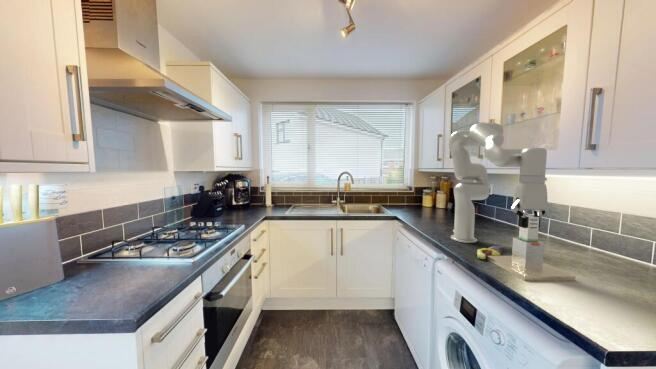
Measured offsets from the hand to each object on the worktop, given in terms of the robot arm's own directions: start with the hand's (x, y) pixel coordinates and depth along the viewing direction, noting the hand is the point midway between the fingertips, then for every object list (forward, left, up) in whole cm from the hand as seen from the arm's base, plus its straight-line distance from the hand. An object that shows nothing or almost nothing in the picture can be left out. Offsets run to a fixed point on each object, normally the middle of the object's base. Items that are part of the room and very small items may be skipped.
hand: (528, 226), depth 93 cm
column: (0, 0, -11) cm, 11 cm away
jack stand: (0, 0, -17) cm, 17 cm away
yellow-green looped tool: (-16, -2, -17) cm, 23 cm away
